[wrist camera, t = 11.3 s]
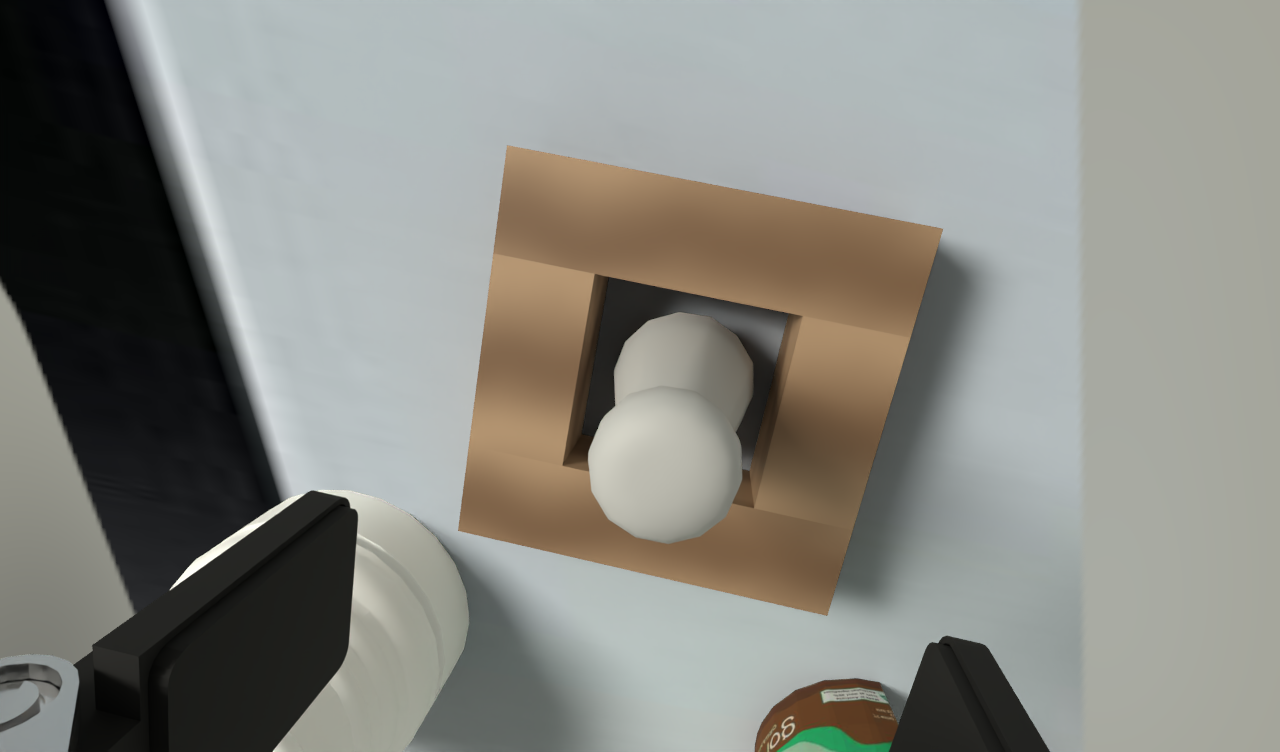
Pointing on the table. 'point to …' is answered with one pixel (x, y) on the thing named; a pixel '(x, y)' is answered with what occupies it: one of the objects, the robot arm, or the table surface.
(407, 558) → the honey pot
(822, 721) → the food container
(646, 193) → the brown wooden square frame
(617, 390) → the salt shaker
